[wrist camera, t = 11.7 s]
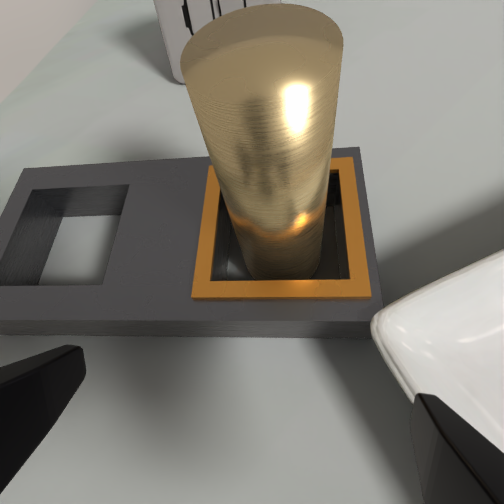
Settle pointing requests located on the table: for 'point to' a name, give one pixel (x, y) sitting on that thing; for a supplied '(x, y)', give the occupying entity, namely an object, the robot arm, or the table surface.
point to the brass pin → (269, 127)
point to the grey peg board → (176, 257)
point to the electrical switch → (192, 22)
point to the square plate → (452, 343)
